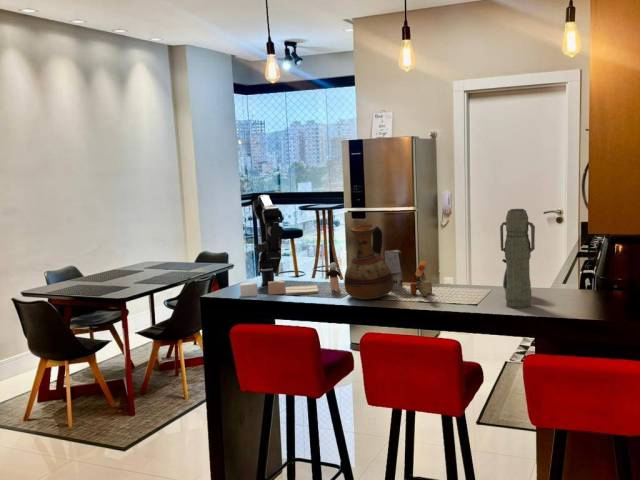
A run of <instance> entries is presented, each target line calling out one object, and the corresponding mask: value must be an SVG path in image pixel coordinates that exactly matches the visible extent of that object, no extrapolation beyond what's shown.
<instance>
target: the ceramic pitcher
mask: <svg viewBox="0 0 640 480" xmlns="http://www.w3.org/2000/svg"><path fill="white" fill-rule="evenodd" d="M349 231H350V232H351V233H352V234H353V235H354V236H355V237H356V238H355V239H356V242H357V243H356V244H357V251H356V254H355V255H354V256H353V257H352V259H350V261H349V263H348V264H347V266H346V269H345V272H344V273H345V274H344V277H343V279H344V280H343V282H344V289H345V292H346V293H347V295H349V296H350V297H352V298H355V299H359V300H372V299H373V300H374V299H377V298H380V297H384V296H385V295H388V294H390V293H391V292H392V291H393V290H392V289H393V276H392V273H391V271H390V269H389V267H388V265H387V264H386V262H385V259H383V258H382V256H381V255H382V248H383V231H382V229H381V228H380V227H379V226H378V225H376V224H373V223H366V224H359V225H358V224H357V225H356V226H352V227H350V228H349Z"/></svg>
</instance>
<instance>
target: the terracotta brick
mask: <svg viewBox="0 0 640 480" xmlns="http://www.w3.org/2000/svg"><path fill="white" fill-rule="evenodd" d="M267 290H268V292H267V293H268V295H281V294H283V295H284V294H286V287H285V280H274V281H270V282H268V285H267Z"/></svg>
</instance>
